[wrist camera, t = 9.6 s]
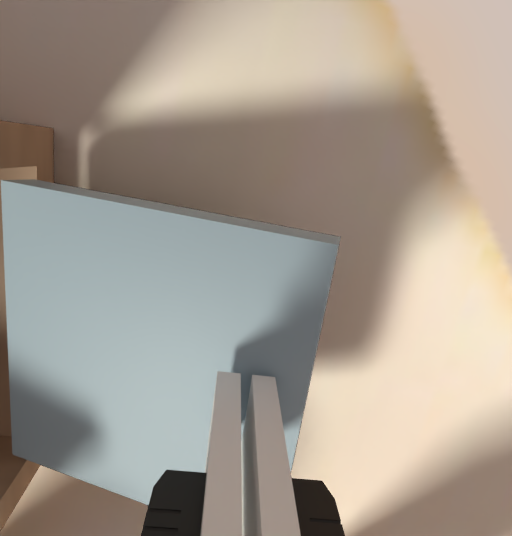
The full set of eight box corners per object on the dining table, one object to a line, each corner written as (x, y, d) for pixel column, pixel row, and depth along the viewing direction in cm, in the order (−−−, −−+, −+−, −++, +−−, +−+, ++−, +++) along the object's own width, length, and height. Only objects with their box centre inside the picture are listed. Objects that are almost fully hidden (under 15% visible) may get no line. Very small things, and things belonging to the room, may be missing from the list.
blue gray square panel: (12, 454, 17) (273, 552, 14) (0, 180, 14) (338, 245, 11) (51, 422, 19) (284, 502, 16) (50, 179, 16) (341, 233, 13)
